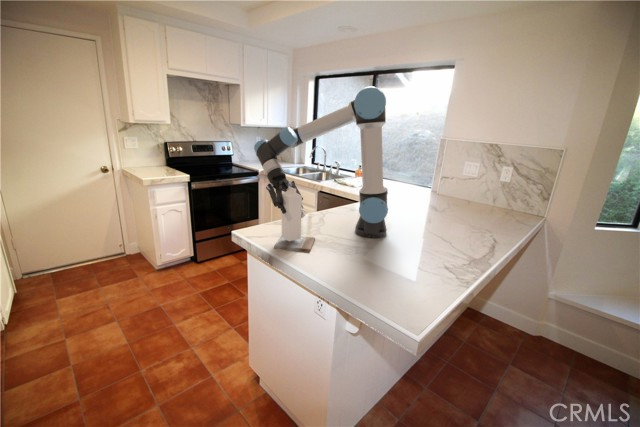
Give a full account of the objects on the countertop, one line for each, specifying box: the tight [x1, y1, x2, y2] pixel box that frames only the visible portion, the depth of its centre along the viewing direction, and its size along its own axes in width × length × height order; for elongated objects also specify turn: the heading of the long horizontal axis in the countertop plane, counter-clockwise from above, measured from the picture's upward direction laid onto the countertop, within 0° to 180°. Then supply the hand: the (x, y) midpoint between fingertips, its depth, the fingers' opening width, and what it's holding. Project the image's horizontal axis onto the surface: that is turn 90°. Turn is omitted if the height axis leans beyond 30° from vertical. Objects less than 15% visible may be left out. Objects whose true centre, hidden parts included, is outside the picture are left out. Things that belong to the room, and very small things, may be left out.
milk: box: [281, 186, 303, 241], centre depth 126 cm, size 6×6×22 cm
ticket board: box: [273, 235, 316, 253], centre depth 129 cm, size 15×13×1 cm
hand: (296, 217), depth 123 cm, fingers closed on milk, 6 cm apart
